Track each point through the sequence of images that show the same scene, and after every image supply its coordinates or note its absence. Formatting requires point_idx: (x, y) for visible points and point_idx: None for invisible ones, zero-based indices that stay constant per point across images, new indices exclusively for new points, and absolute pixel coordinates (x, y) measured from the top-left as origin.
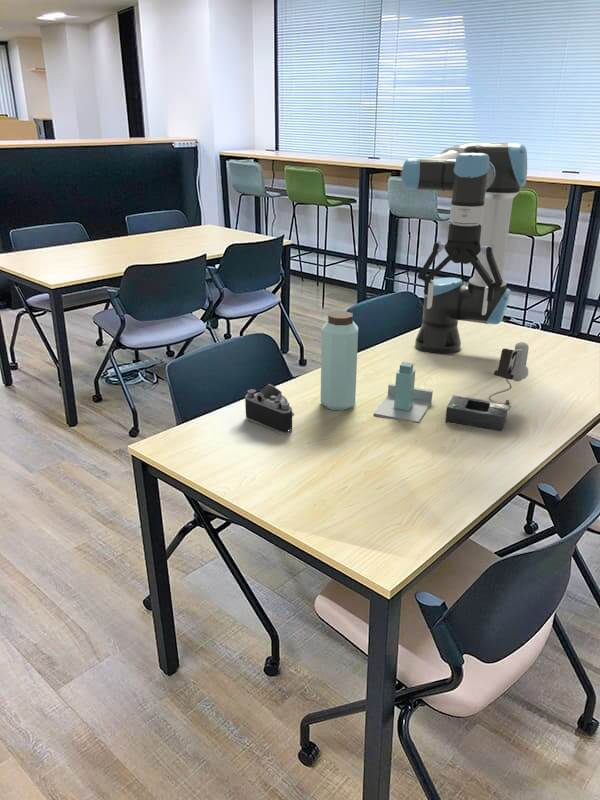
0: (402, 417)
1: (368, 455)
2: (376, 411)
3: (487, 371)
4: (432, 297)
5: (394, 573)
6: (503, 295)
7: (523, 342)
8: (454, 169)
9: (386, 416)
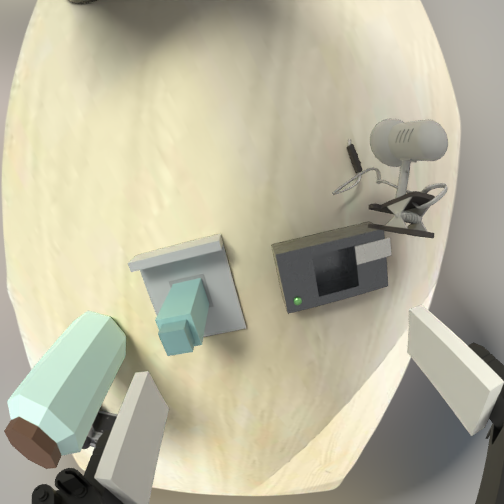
0: (214, 330)
1: (237, 422)
2: None
3: (247, 11)
4: (139, 407)
5: (335, 484)
6: None
7: (441, 138)
8: None
9: None
